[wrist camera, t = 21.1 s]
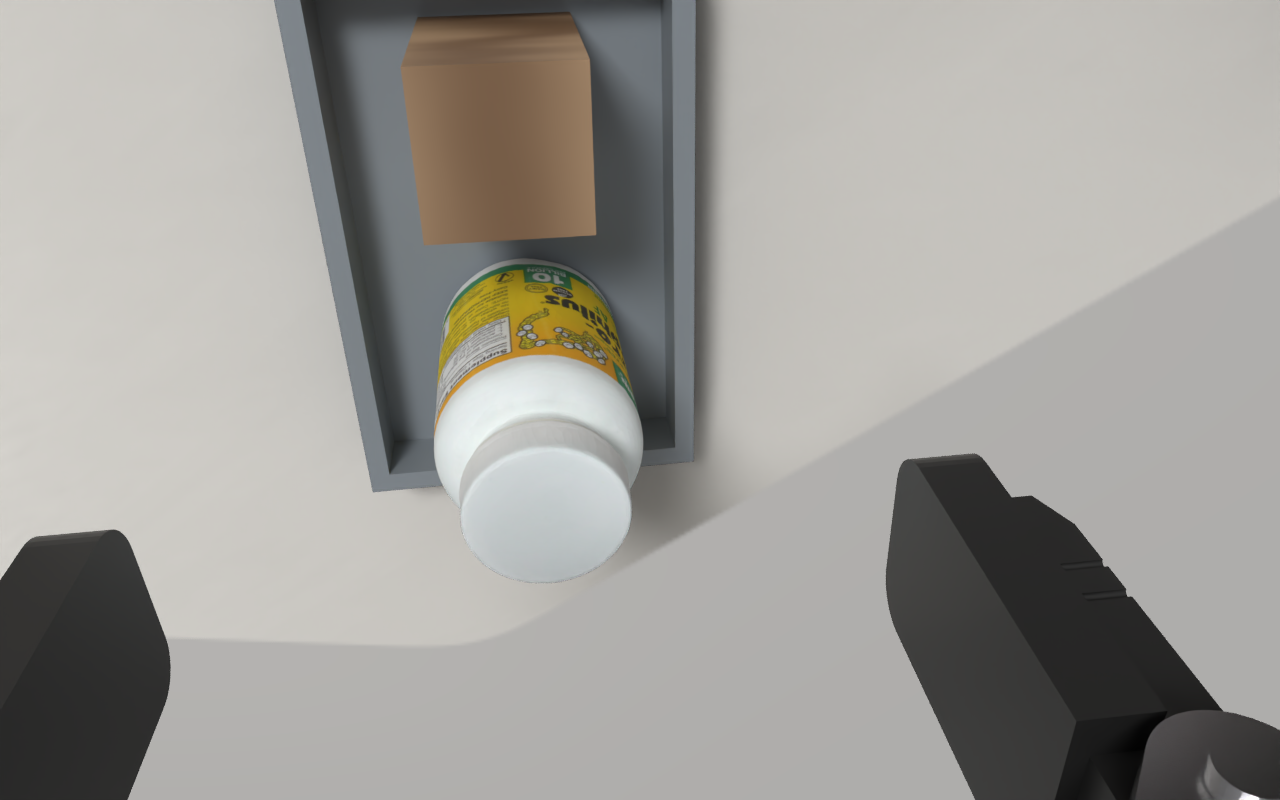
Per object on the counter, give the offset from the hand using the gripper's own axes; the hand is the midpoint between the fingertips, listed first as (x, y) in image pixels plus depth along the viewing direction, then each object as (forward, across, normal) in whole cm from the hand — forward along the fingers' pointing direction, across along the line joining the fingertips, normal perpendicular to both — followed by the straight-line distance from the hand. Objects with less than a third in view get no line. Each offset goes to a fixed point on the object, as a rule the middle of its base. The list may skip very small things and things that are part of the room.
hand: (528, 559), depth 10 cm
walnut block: (+20, 0, 0) cm, 20 cm away
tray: (+20, +1, +4) cm, 21 cm away
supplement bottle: (+20, 0, +7) cm, 21 cm away
